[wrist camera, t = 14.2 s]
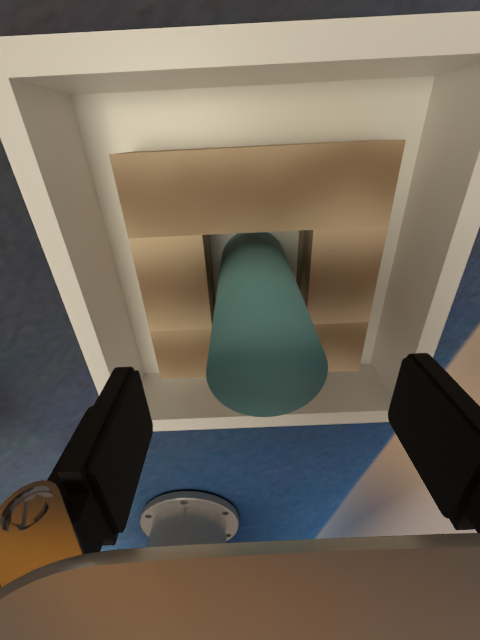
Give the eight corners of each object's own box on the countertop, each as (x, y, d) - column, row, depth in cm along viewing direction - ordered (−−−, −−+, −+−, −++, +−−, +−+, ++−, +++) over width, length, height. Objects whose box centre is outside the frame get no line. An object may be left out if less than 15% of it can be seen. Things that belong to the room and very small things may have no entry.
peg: (283, 287, 22) (322, 415, 12) (223, 290, 22) (211, 419, 12) (285, 227, 20) (334, 320, 10) (219, 230, 20) (199, 326, 10)
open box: (377, 368, 27) (410, 421, 22) (136, 378, 28) (113, 432, 23) (455, 49, 16) (557, 7, 11) (48, 70, 16) (-38, 38, 11)
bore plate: (341, 338, 25) (358, 370, 21) (171, 346, 25) (160, 378, 21) (372, 139, 18) (405, 139, 14) (133, 151, 18) (108, 154, 14)
